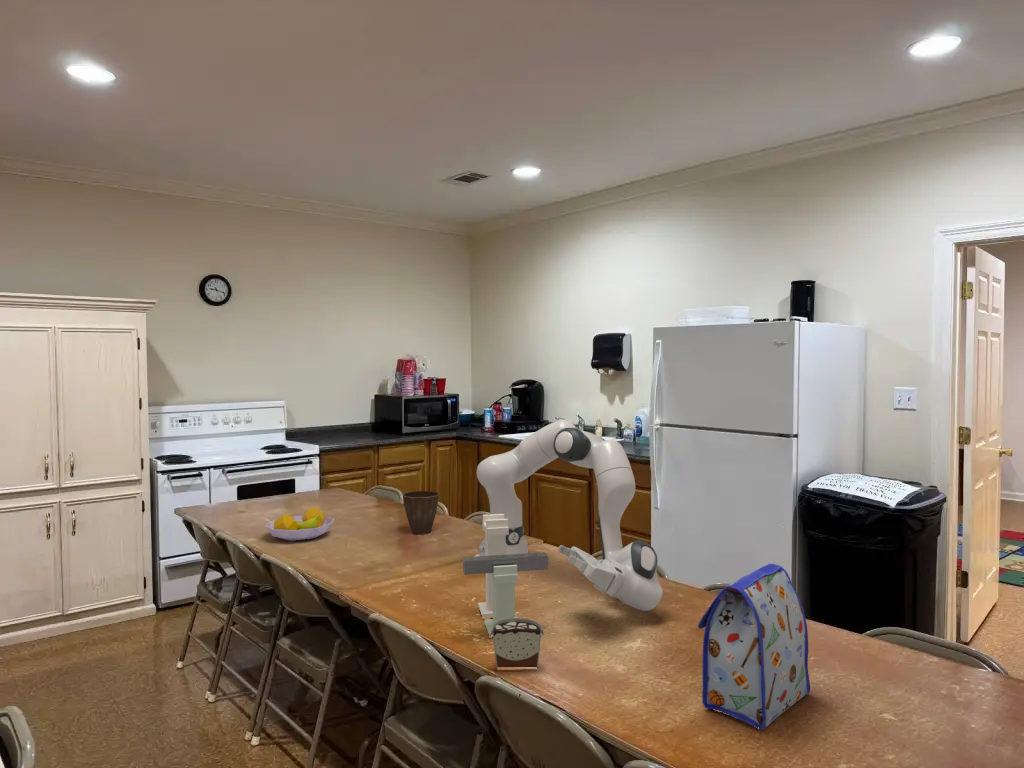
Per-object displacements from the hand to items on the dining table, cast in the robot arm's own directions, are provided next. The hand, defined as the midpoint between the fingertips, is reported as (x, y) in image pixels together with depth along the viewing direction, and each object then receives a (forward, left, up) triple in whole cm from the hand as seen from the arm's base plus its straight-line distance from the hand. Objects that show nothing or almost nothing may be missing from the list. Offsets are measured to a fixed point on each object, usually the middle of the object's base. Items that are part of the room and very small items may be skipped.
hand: (563, 552), depth 181 cm
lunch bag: (+52, +16, -20) cm, 58 cm away
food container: (+15, -21, -20) cm, 33 cm away
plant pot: (-113, -3, -20) cm, 115 cm away
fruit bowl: (-128, -49, -20) cm, 139 cm away
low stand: (-4, -16, -20) cm, 26 cm away
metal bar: (-4, -15, -4) cm, 16 cm away
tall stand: (-17, -12, -20) cm, 29 cm away
